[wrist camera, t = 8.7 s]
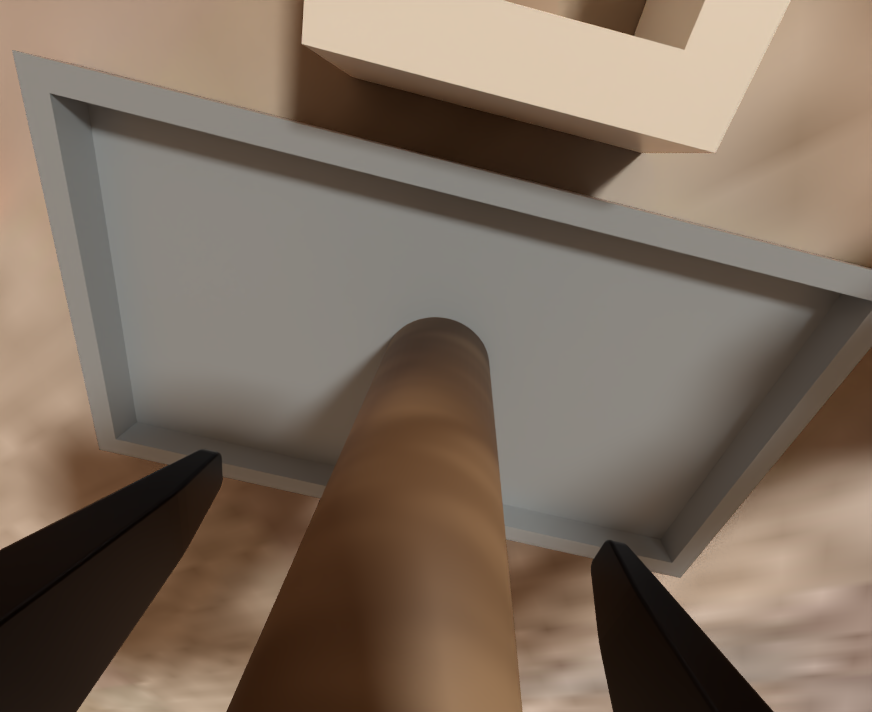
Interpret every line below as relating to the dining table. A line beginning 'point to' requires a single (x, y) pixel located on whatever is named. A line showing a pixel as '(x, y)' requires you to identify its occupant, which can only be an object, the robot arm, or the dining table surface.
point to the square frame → (560, 63)
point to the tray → (424, 312)
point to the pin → (401, 553)
